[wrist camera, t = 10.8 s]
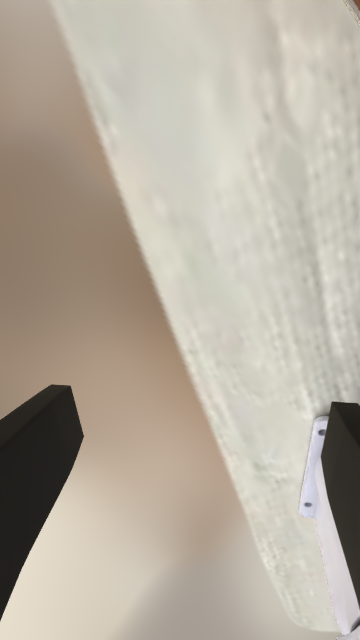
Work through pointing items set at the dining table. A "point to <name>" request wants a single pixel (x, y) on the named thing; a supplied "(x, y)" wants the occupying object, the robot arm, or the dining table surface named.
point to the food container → (354, 8)
